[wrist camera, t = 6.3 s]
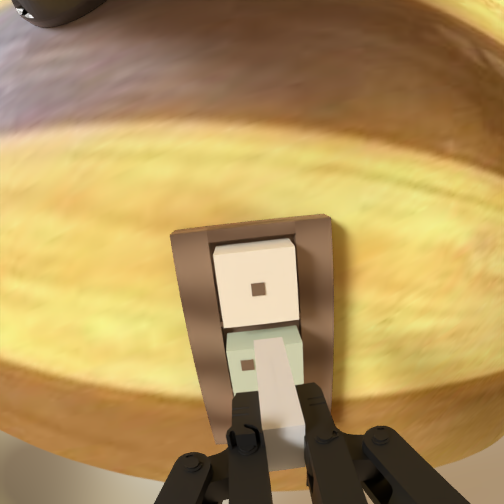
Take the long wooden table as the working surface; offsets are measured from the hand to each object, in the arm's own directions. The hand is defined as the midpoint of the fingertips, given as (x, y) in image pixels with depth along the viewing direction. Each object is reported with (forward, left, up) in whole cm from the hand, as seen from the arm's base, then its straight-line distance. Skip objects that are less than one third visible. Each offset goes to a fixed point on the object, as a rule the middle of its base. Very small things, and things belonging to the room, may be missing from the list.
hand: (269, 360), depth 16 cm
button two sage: (+6, 0, -10) cm, 12 cm away
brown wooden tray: (+6, 0, -13) cm, 14 cm away
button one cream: (-1, 0, -11) cm, 11 cm away
